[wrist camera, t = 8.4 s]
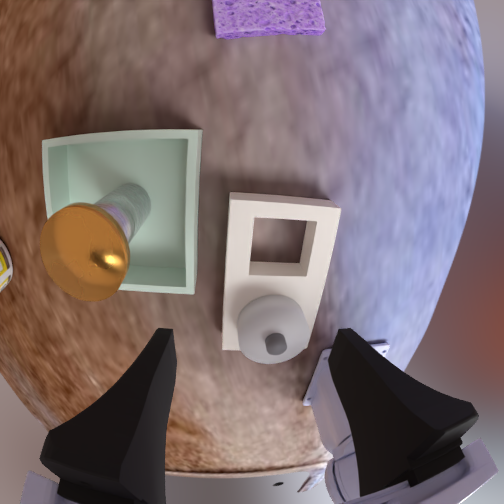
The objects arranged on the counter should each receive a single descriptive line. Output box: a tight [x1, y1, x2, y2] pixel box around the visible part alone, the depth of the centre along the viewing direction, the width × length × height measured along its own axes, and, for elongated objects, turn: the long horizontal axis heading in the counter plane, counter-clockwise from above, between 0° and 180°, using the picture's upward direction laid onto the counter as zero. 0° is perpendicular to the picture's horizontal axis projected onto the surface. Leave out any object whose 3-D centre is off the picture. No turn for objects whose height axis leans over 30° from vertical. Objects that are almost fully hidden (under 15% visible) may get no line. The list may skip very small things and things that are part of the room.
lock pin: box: [40, 183, 151, 301], centre depth 14 cm, size 4×4×8 cm
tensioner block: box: [222, 192, 341, 364], centre depth 19 cm, size 12×7×5 cm, turn 175°
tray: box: [42, 129, 203, 294], centre depth 16 cm, size 10×10×3 cm
